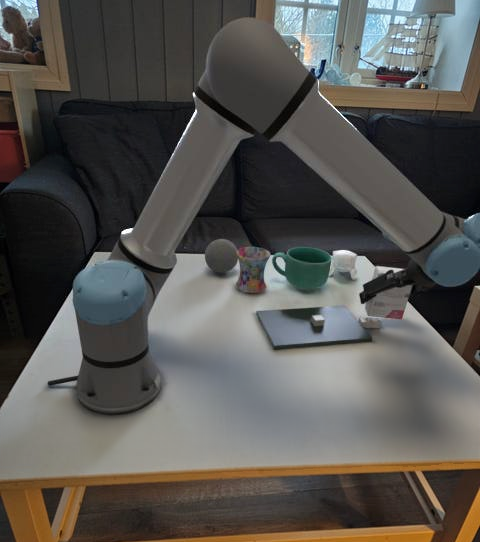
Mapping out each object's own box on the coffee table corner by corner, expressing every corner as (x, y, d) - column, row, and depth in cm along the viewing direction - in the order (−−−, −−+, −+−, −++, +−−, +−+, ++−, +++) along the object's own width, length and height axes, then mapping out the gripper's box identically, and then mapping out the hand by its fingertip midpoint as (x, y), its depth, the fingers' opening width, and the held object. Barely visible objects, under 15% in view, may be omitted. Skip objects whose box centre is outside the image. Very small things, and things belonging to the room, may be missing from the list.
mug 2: (329, 280, 129) (334, 250, 125) (323, 298, 119) (328, 266, 114) (276, 271, 133) (279, 242, 129) (265, 287, 123) (268, 256, 118)
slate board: (274, 349, 96) (274, 345, 95) (256, 314, 109) (256, 310, 109) (371, 341, 101) (372, 337, 100) (343, 308, 114) (343, 305, 114)
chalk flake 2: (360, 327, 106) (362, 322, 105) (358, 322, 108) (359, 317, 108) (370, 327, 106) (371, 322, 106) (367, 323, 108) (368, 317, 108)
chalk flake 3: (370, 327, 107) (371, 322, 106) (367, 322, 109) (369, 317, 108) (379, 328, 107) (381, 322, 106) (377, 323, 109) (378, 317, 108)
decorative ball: (197, 271, 130) (197, 240, 125) (218, 262, 137) (219, 232, 132) (223, 281, 125) (225, 248, 120) (243, 271, 132) (245, 240, 127)
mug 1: (262, 298, 117) (265, 261, 112) (229, 291, 119) (231, 255, 114) (272, 280, 127) (276, 246, 122) (242, 275, 129) (245, 241, 124)
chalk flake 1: (314, 326, 104) (315, 320, 103) (311, 321, 106) (311, 315, 105) (323, 325, 104) (324, 319, 103) (320, 320, 106) (321, 314, 105)
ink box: (398, 311, 110) (411, 268, 104) (402, 320, 106) (416, 276, 100) (363, 307, 110) (375, 264, 104) (367, 316, 106) (378, 272, 100)
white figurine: (327, 274, 140) (326, 276, 126) (331, 248, 139) (331, 246, 125) (354, 278, 139) (356, 280, 124) (358, 252, 138) (362, 251, 123)
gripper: (389, 284, 84) (341, 314, 106) (485, 279, 89) (420, 309, 110) (382, 248, 86) (336, 285, 108) (476, 245, 91) (414, 281, 112)
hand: (379, 297), depth 109 cm, fingers closed on ink box, 9 cm apart
